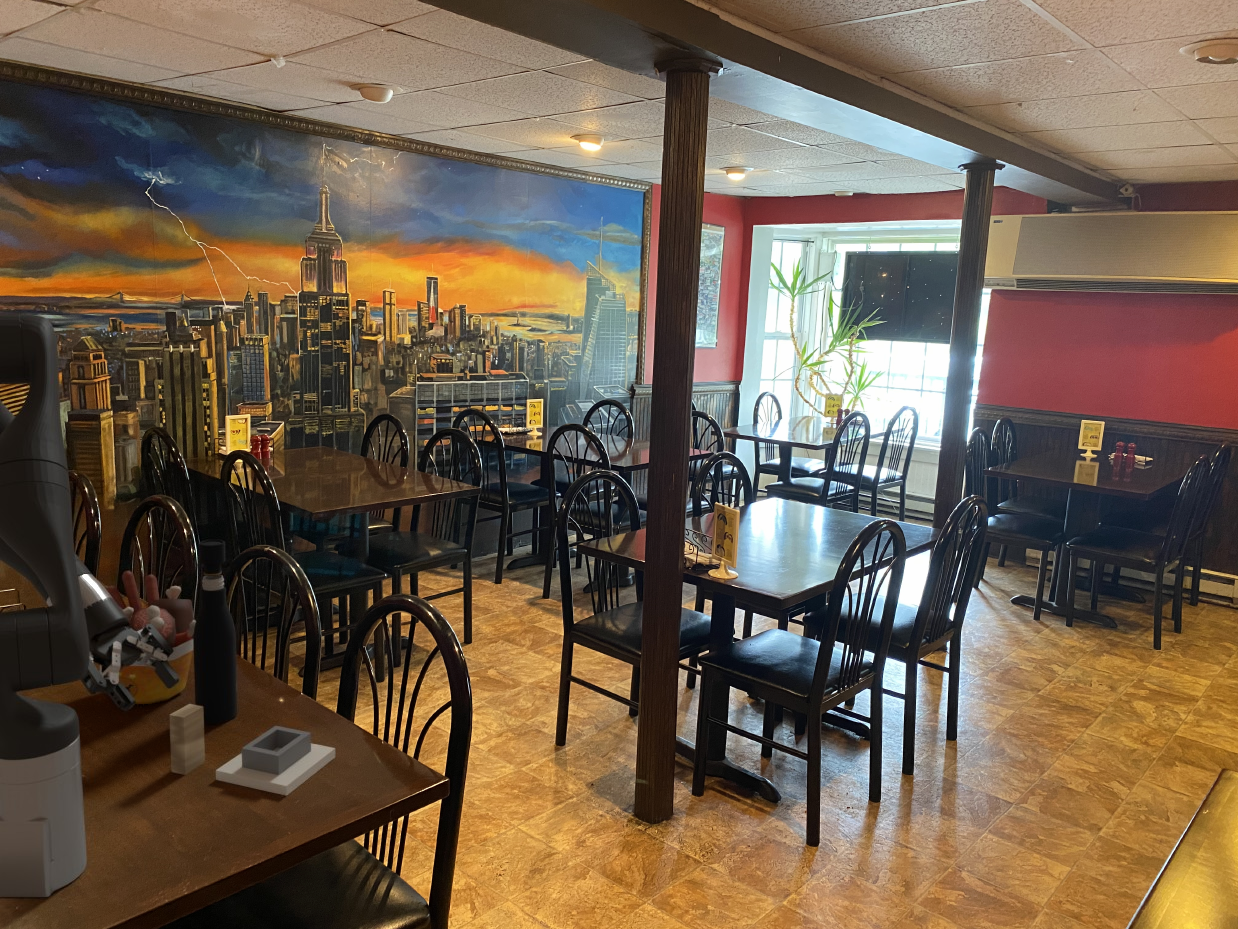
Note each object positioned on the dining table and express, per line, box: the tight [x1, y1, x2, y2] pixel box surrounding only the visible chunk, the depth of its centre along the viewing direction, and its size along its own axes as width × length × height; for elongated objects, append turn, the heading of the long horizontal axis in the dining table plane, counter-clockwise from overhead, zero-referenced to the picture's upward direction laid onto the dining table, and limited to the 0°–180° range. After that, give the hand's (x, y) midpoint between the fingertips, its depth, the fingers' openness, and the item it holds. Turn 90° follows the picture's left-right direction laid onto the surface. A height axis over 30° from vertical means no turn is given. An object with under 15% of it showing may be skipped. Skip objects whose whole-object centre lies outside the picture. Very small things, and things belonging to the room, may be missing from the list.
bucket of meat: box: [105, 570, 196, 706], centre depth 159 cm, size 20×16×20 cm
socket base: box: [215, 725, 336, 797], centre depth 137 cm, size 12×12×4 cm
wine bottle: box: [193, 539, 238, 725], centre depth 150 cm, size 6×6×30 cm
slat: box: [169, 703, 206, 776], centre depth 136 cm, size 2×4×9 cm, turn 164°
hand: (153, 696), depth 136 cm, fingers open, 8 cm apart
